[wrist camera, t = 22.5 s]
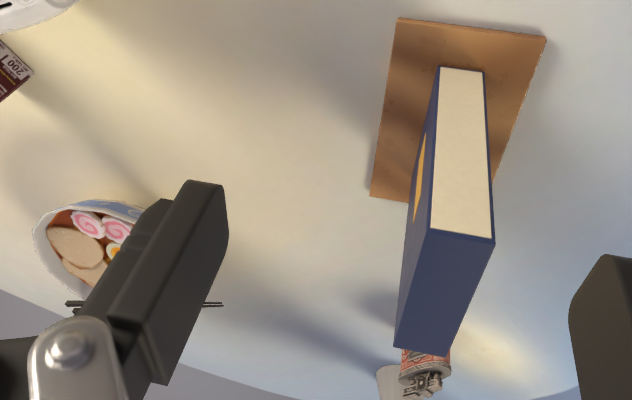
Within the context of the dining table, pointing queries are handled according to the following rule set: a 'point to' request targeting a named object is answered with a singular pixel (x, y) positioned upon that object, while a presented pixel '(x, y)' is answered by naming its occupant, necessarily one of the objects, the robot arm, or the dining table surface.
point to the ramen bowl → (84, 242)
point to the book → (446, 215)
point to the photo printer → (29, 12)
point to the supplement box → (11, 72)
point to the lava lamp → (391, 383)
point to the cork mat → (417, 81)
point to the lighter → (422, 373)
